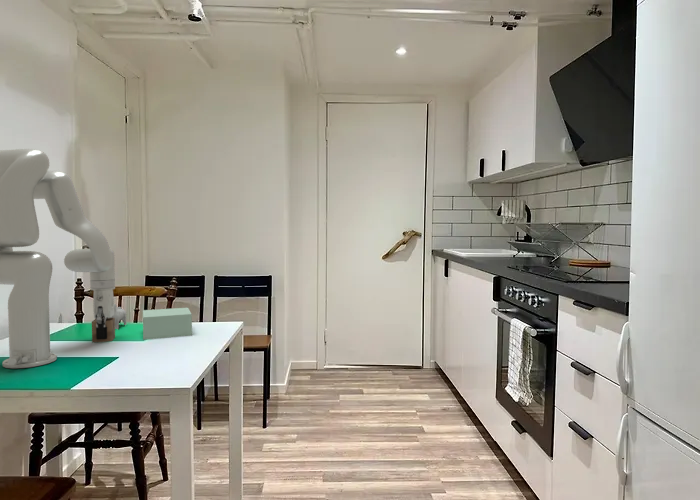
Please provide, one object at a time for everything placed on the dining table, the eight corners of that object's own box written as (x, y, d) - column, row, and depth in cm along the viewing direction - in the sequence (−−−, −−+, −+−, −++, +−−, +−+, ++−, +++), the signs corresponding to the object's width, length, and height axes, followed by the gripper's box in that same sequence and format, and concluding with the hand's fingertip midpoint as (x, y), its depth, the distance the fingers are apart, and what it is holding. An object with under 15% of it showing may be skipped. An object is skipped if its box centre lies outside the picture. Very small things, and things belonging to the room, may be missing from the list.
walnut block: (111, 341, 156) (111, 320, 155) (92, 342, 154) (91, 321, 154) (115, 337, 161) (114, 317, 161) (96, 338, 160) (95, 318, 159)
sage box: (192, 336, 164) (191, 314, 164) (143, 340, 158) (142, 317, 158) (188, 327, 179) (187, 307, 179) (143, 331, 173) (143, 310, 172)
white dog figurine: (98, 331, 171) (97, 303, 170) (115, 325, 184) (114, 298, 183) (112, 331, 171) (112, 303, 171) (128, 324, 184) (128, 298, 183)
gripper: (110, 287, 150) (111, 341, 151) (119, 282, 166) (120, 331, 167) (84, 288, 148) (85, 343, 148) (96, 282, 164) (97, 332, 165)
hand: (103, 336), depth 158 cm, fingers closed on walnut block, 6 cm apart
